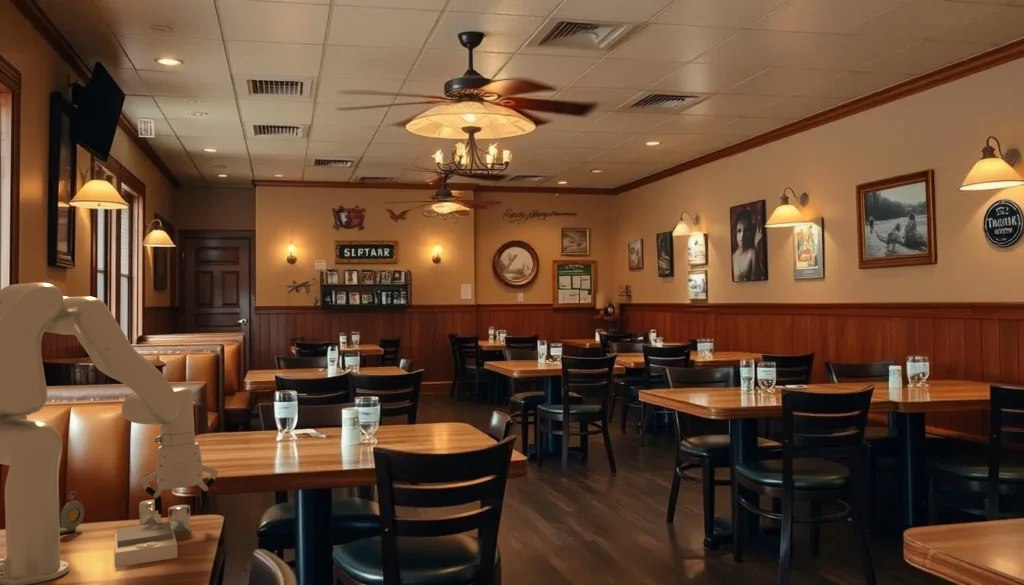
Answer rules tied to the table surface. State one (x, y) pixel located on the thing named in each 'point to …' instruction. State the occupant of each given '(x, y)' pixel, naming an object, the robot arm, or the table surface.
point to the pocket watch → (71, 515)
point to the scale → (145, 544)
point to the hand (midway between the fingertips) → (181, 509)
